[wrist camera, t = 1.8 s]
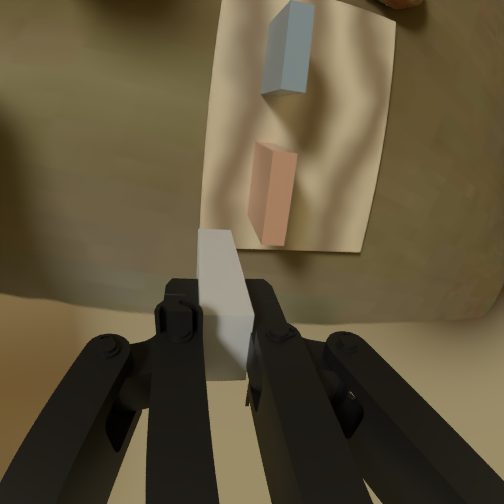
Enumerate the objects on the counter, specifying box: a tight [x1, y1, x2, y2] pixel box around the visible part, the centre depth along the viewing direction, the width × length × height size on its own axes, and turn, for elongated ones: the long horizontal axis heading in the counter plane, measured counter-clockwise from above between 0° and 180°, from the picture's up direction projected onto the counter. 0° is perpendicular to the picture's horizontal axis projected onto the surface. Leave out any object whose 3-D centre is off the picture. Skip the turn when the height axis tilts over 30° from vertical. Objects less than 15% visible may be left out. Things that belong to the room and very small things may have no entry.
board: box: [200, 0, 396, 252], centre depth 31 cm, size 20×30×1 cm, turn 174°
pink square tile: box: [247, 141, 297, 246], centre depth 29 cm, size 2×8×8 cm, turn 174°
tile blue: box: [261, 0, 315, 97], centre depth 24 cm, size 2×8×8 cm, turn 174°
